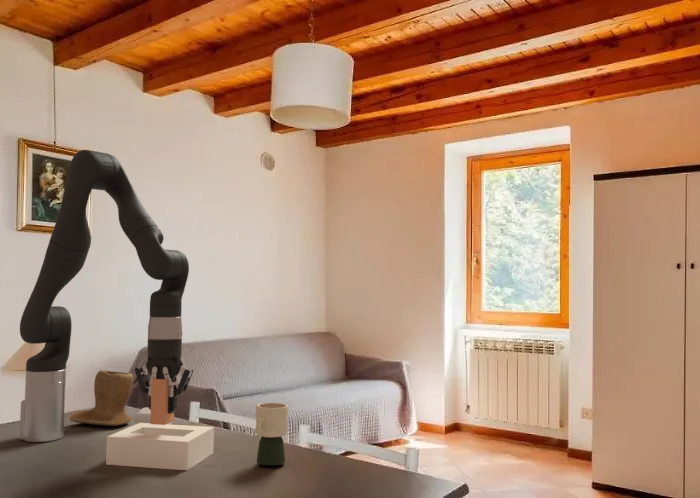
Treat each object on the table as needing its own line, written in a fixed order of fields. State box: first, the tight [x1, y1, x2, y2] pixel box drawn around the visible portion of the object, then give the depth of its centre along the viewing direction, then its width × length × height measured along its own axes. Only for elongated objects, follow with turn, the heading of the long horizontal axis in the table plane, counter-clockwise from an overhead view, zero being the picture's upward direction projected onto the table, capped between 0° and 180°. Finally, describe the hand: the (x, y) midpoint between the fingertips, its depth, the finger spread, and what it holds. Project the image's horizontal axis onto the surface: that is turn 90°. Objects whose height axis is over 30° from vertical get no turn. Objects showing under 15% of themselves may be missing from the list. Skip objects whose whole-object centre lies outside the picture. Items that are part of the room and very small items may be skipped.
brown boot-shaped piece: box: [68, 369, 135, 427], centre depth 175 cm, size 15×12×15 cm
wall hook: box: [134, 406, 173, 425], centre depth 158 cm, size 8×10×10 cm
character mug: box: [255, 402, 289, 468], centre depth 138 cm, size 11×7×13 cm, turn 154°
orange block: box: [150, 378, 175, 425], centre depth 142 cm, size 4×4×10 cm
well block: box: [105, 423, 215, 471], centre depth 142 cm, size 19×14×6 cm
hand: (162, 412), depth 142 cm, fingers closed on orange block, 3 cm apart
